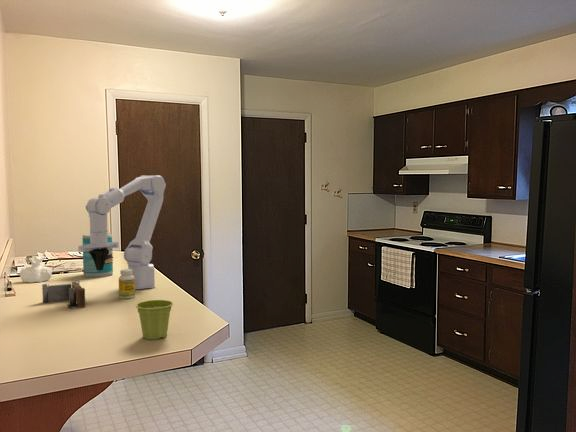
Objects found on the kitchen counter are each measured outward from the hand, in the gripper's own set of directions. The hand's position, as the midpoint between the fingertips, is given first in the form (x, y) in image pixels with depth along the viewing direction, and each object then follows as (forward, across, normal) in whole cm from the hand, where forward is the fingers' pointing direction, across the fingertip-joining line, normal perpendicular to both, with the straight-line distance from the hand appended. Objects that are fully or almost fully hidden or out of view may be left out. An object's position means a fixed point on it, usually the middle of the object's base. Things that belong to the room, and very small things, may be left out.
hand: (99, 269), depth 170 cm
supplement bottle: (+10, -5, +9) cm, 14 cm away
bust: (+10, 0, -44) cm, 45 cm away
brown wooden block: (+9, +11, +4) cm, 15 cm away
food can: (+10, -22, -36) cm, 43 cm away
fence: (+9, +12, -4) cm, 16 cm away
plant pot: (+10, +18, +52) cm, 56 cm away
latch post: (+9, +14, +7) cm, 18 cm away
